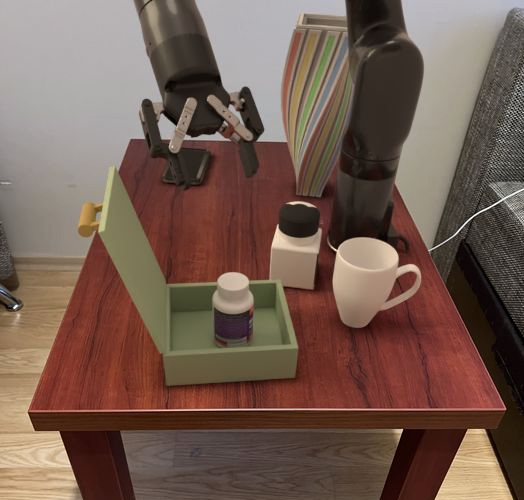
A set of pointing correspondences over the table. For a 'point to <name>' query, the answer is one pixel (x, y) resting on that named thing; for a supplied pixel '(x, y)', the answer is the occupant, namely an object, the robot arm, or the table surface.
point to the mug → (367, 279)
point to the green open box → (227, 359)
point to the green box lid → (129, 254)
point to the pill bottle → (232, 311)
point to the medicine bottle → (296, 246)
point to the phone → (191, 165)
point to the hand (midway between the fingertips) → (220, 181)
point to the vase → (316, 98)
